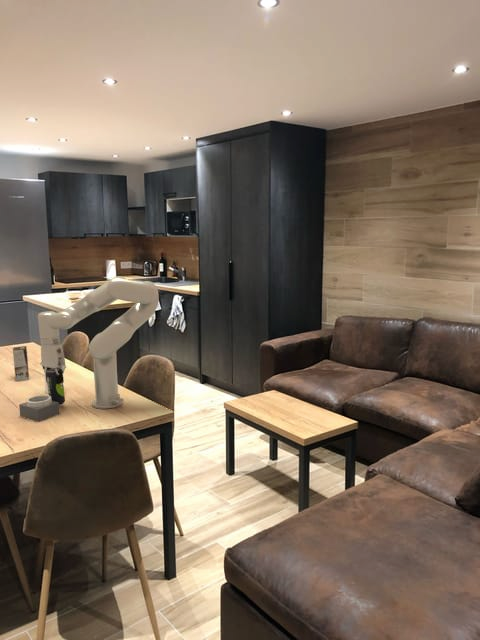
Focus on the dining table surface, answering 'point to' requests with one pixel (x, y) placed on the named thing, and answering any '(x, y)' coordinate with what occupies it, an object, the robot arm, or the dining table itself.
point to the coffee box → (21, 363)
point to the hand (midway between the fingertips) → (55, 381)
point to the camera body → (39, 408)
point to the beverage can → (55, 387)
